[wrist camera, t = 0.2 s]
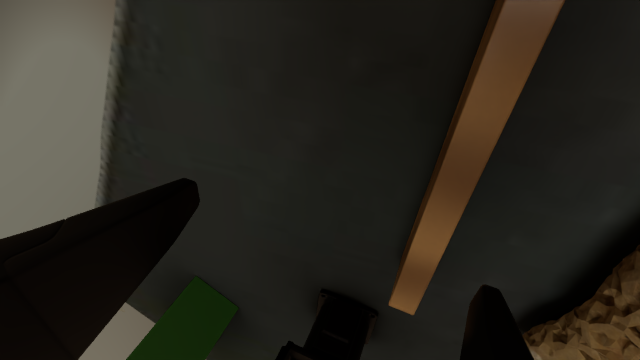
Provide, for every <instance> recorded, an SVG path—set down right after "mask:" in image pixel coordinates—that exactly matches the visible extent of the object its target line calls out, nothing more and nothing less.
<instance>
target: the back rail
mask: <svg viewBox="0 0 640 360" xmlns="http://www.w3.org/2000/svg"><path fill="white" fill-rule="evenodd" d="M564 2H565V0H496V1H495V4H494V7H493V9H492V12H491V15H490V18H489V20H488V23H487V26H486V29H485V31H484V34H483V37H482V39H481V42H480V45H479V48H478V50H477V53H476V56H475V59H474V61H473V64H472V67H471V69H470V72H469V75H468V78H467V80H466V83H465V86H464V89H463V91H462V94H461V97H460V99H459V102H458V105H457V108H456V110H455V113H454V116H453V119H452V121H451V124H450V127H449V129H448V132H447V135H446V138H445V140H444V143H443V146H442V149H441V151H440V154H439V157H438V159H437V162H436V165H435V168H434V170H433V173H432V176H431V179H430V181H429V184H428V187H427V189H426V192H425V195H424V198H423V200H422V203H421V206H420V209H419V211H418V214H417V217H416V219H415V222H414V225H413V228H412V230H411V233H410V236H409V239H408V241H407V244H406V247H405V249H404V252H403V255H402V258H401V261H400V265H399V268H398V272H397V275H396V279H395V283H394V286H393V290H392V293H391V297H390V301H389V306H391V307H394V308H397V309H399V310H402V311H404V312H407V313H409V314H412V315H414V313H415V311H416V309H417V307H418V305H419V303H420V301H421V299H422V297H423V295H424V293H425V290H426V288H427V286H428V284H429V282H430V280H431V278H432V276H433V274H434V272H435V270H436V268H437V266H438V263H439V261H440V259H441V257H442V255H443V253H444V251H445V249H446V247H447V245H448V243H449V241H450V239H451V236H452V234H453V232H454V230H455V228H456V226H457V224H458V222H459V220H460V218H461V216H462V214H463V212H464V209H465V207H466V205H467V203H468V201H469V199H470V197H471V195H472V193H473V191H474V189H475V187H476V185H477V182H478V180H479V178H480V176H481V174H482V172H483V170H484V168H485V166H486V164H487V162H488V160H489V158H490V155H491V153H492V151H493V149H494V147H495V145H496V143H497V141H498V139H499V137H500V135H501V133H502V131H503V128H504V126H505V124H506V122H507V120H508V118H509V116H510V114H511V112H512V110H513V108H514V106H515V104H516V101H517V99H518V97H519V95H520V93H521V91H522V89H523V87H524V85H525V83H526V81H527V79H528V77H529V74H530V72H531V70H532V68H533V66H534V64H535V62H536V60H537V58H538V56H539V54H540V52H541V50H542V47H543V45H544V43H545V41H546V39H547V37H548V35H549V33H550V31H551V29H552V27H553V25H554V23H555V20H556V18H557V16H558V14H559V12H560V10H561V8H562V6H563V4H564Z"/></svg>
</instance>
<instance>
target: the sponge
mask: <svg viewBox="0 0 640 360" xmlns="http://www.w3.org/2000/svg"><path fill="white" fill-rule="evenodd" d="M523 338H524V340H525V342H526V344H527V346H528V348H529V350H530V352H531V354H532V356H533V358H534V360H640V244H639V245H638V246H637V248H636V250H635V251H634V252H632V253H631V254H629V255H628V256H626V257H625V258H624V259H623V260H622V261H621V262H620V263H619V264H618V265H617V266H616V267H615V268H613V272H612V274H611V275H609V276H608V277H607V278H606V279H605V281H604V282H603V284H602V285H601V286H600V287H599V289H598V290H597V292H596V293H595V295H594V296H593V297H592V298H591V299H590V300H588V301H586V302H585V303H584V304H582V305H581V306H577V307H575V308H574V309H573V310H572V311H571V312H569V313H567V314H565V315H563V316H562V317H561V318H559V319H558V320H557V321H555V320H550V321H548V322H546V323H543V324H540V325H537V326H534V327H532V328H531V329H530V330H529V331H528V332H525V333H524V335H523Z"/></svg>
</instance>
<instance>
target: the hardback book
mask: <svg viewBox="0 0 640 360" xmlns="http://www.w3.org/2000/svg"><path fill="white" fill-rule="evenodd" d="M237 310H238V307H237V306H236V305H234V304H233V303H232V302H230V301H229V300H228V299H226V298H225V297H224V296H222V295H221V294H220V293H218V292H217V291H216V290H214V289H213V288H212V287H210V286H209V285H208V284H206V283H205V282H204V281H202V280H201V279H200V278H198V277H197V276H195V277H194V279H193V280H192V281H191V282H190V283H189V285H188V286H187V287H186V288H185V289H184V291H183V292H182V293H181V294H180V295H179V297H178V298H177V299H176V300H175V301H174V303H173V304H172V305H171V306H170V307H169V309H168V310H167V311H166V312H165V313H164V315H163V316H162V317H161V318H160V319H159V321H158V322H157V323H156V324H155V325H154V327H153V328H152V329H151V330H150V331H149V333H148V334H147V335H146V336H145V337H144V339H143V340H142V341H141V342H140V344H139V345H138V346H137V347H136V348H135V349H134V351H133V352H132V353H131V354H130V356H129V357H128V358H127V359H126V360H205V359H206V357H207V356H208V354H209V353H210V351H211V350H212V348H213V347H214V345H215V344H216V342H217V340H218V339H219V337H220V336H221V334H222V333H223V331H224V330H225V328H226V327H227V325H228V324H229V322H230V321H231V319H232V318H233V316H234V315H235V313H236V311H237Z"/></svg>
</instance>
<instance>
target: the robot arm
mask: <svg viewBox="0 0 640 360" xmlns="http://www.w3.org/2000/svg"><path fill="white" fill-rule="evenodd" d="M199 202H200V198H199V193H198V187H197V184H196V182H195V181H192V180H190V179H187V178H182V179H179V180H176V181H173V182H170V183H167V184H164V185H162V186H159V187H156V188H153V189H150V190H147V191H144V192H141V193H138V194H135V195H133V196H130V197H127V198H124V199H121V200H118V201H115V202H112V203H109V204H106V205H104V206H101V207H98V208H95V209H92V210H89V211H86V212H83V213H80V214H77V215H75V216H72V217H69V218H67V219H66V220H65V219H63V220H60V221H57V222H54V223H51V224H48V225H45V226H42V227H40V228H36V229H33V230H30V231H27V232H23V233H20V234H17V235H13V236H10V237H7V238H3V239H0V360H78V359H79V357H80V356H81V355H82V354H83V353H84V352H85V350H86V349H87V348H88V347H89V346H90V344H91V343H92V342H93V341H94V340H95V338H96V337H97V336H98V335H99V333H100V332H101V331H102V330H103V329H104V327H105V326H106V325H107V324H108V323H109V321H110V320H111V319H112V317H113V316H114V315H115V314H116V313H117V312H118V310H119V309H120V308H121V307H122V306H123V304H124V303H125V302H126V301H127V299H128V298H129V297H130V296H131V295H132V293H133V292H134V291H135V290H136V289H137V287H138V286H139V285H140V284H141V282H142V281H143V280H144V279H145V278H146V276H147V275H148V274H149V273H150V272H151V270H152V269H153V268H154V267H155V265H156V264H157V263H158V262H159V261H160V259H161V258H162V257H163V256H164V255H165V253H166V252H167V251H168V250H169V248H170V247H171V246H172V245H173V243H174V242H175V240H176V239H177V238H178V236H179V235H180V233H181V232H182V230H183V229H184V227H185V226H186V224H187V223H188V221H189V220H190V218H191V217H192V215H193V214H194V212H195V211H196V209H197V208H198V206H199ZM377 316H378V313H377V312H376V311H375V310H372V309H370V308H367V307H365V306H362V305H360V304H357V303H355V302H352V301H350V300H348V299H345V298H343V297H340V296H338V295H335V294H333V293H330V292H328V291H325V290H321V292H320V294H319V300H318V306H317V313H316V320H315V322H314V325H313V327H312V329H311V331H310V334H309V336H308V338H307V340H306V342H305V345H304V347H303V348H302V347H300V346H298V345H295V344H294V343H293V342H291V341H288V343H287V344H286V346H282V348H281V350H280V352H279V354H278V356H277V358H276V359H275V360H360V357H361V353H362V350H363V347H364V344H368V342H369V339H370V336H371V333H372V331H373V328H374V325H375V322H376V319H377ZM460 360H534V358H533V356H532V354H531V352H530V350H529V348H528V346H527V344H526V342H525V340H524V338H523V336H522V334H521V332H520V330H519V328H518V326H517V324H516V322H515V320H514V318H513V316H512V313H511V311H510V309H509V307H508V305H507V303H506V301H505V299H504V297H503V295H502V293H501V292H500V290H499V289H497V288H494V287H491V286H488V285H485V284H484V285H482V286H481V287H480V288H479V290H478V291H477V293H476V294H475V296H474V298H473V299H472V301H471V303H470V306H469V310H468V316H467V322H466V327H465V333H464V339H463V344H462V350H461V356H460Z"/></svg>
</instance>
